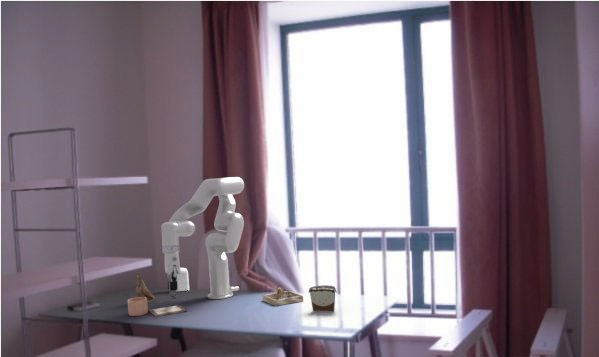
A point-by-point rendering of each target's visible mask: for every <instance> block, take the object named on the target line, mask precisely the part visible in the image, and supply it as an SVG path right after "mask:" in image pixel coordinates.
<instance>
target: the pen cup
mask: <svg viewBox="0 0 599 357" xmlns="http://www.w3.org/2000/svg"><path fill="white" fill-rule="evenodd" d="M127 310H128V311H127V313H128V316H131V317H137V316H138V317H139V316H143V315H144V316H145V315H147V313H148V312H149V307H148V303H147V298H146V297H138V296H137V297H131V298H129V299H127Z"/></svg>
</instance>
